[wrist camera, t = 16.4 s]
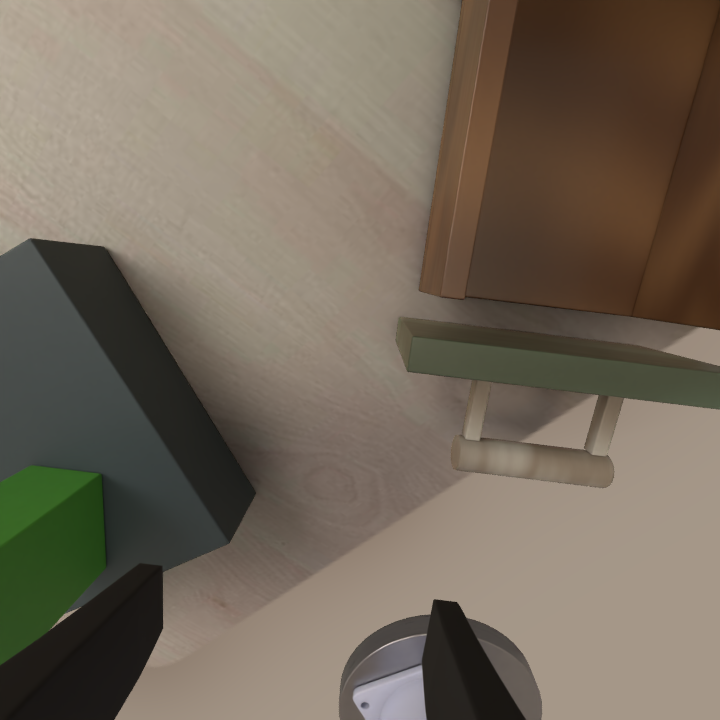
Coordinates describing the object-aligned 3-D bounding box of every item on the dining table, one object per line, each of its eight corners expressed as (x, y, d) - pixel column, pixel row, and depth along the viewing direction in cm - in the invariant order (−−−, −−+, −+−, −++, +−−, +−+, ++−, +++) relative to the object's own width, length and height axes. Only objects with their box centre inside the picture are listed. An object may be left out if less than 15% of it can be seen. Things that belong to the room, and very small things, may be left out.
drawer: (607, 451, 18) (712, 528, 13) (383, 424, 18) (389, 489, 13) (775, -118, 13) (1076, -413, 8) (464, -153, 13) (534, -473, 8)
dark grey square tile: (256, 493, 21) (229, 544, 17) (74, 574, 22) (11, 637, 18) (104, 246, 18) (29, 237, 14) (-91, 359, 19) (-208, 379, 15)
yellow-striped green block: (107, 567, 17) (-14, 700, 12) (40, 559, 17) (-110, 687, 12) (102, 473, 16) (-33, 571, 11) (31, 464, 16) (-140, 558, 11)
